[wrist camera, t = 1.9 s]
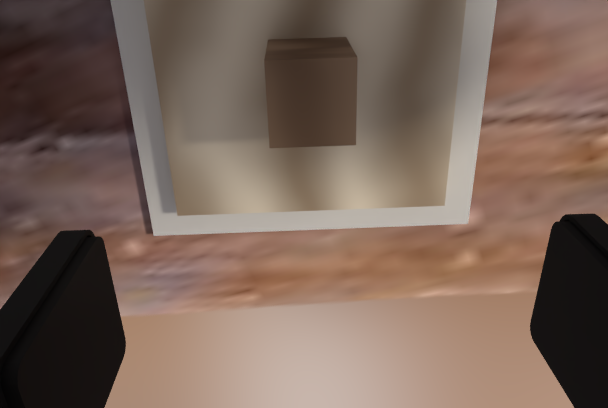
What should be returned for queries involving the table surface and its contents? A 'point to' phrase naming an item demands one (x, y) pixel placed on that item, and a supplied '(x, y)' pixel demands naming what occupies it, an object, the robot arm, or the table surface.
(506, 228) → the table surface
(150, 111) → the mat
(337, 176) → the cover
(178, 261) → the table surface
